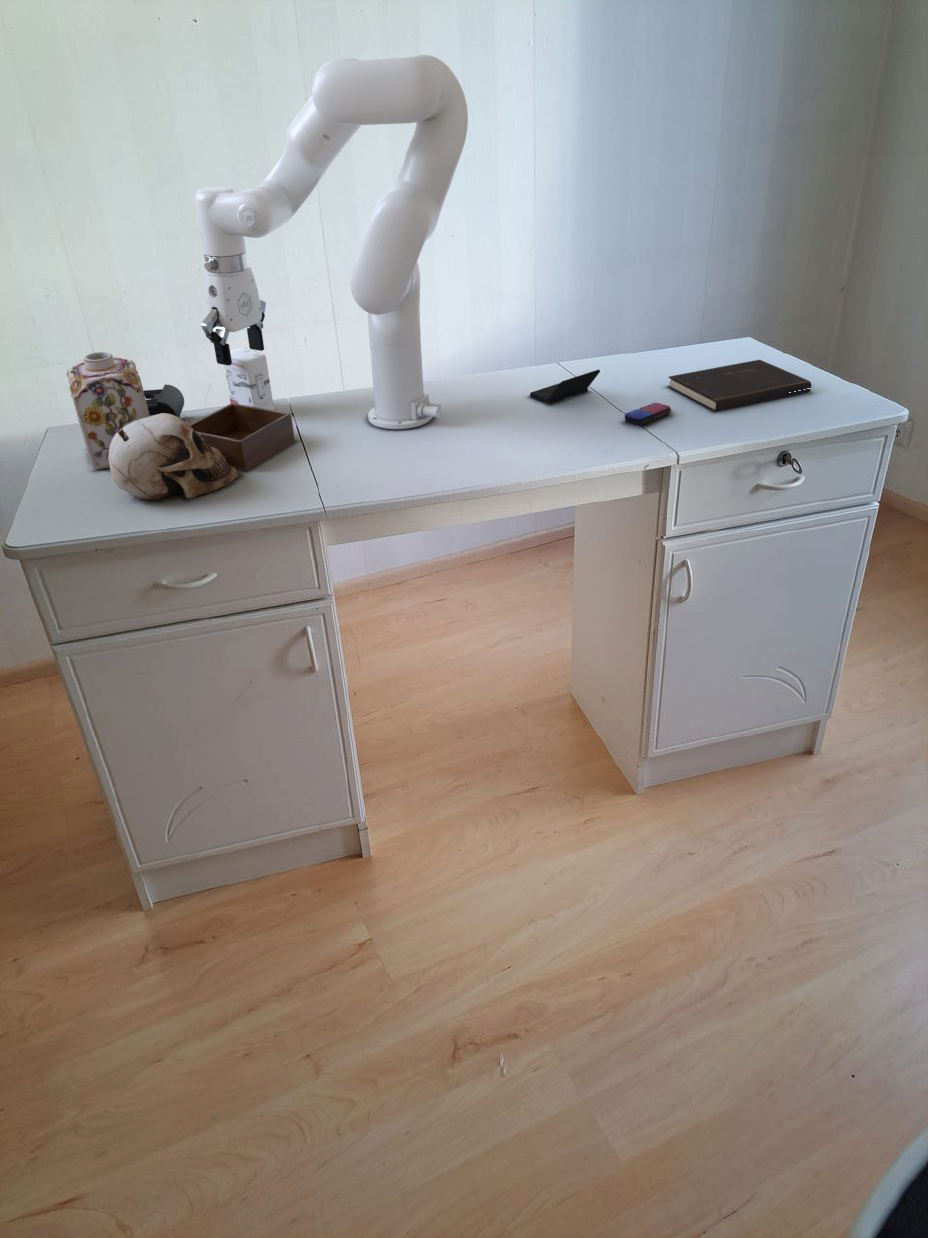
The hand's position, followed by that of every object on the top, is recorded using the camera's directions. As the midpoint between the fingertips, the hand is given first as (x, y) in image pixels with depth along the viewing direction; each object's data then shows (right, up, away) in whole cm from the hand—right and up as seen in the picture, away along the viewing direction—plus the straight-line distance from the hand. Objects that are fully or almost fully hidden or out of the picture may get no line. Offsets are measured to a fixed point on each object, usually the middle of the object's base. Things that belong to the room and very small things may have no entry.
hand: (241, 356), depth 167 cm
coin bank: (-5, -29, -21) cm, 36 cm away
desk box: (+2, -20, -9) cm, 22 cm away
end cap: (-15, -14, +1) cm, 20 cm away
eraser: (+78, -13, -2) cm, 79 cm away
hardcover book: (+99, -4, +9) cm, 99 cm away
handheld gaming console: (+63, -6, +9) cm, 64 cm away
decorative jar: (-19, -21, -9) cm, 30 cm away
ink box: (+1, -9, +6) cm, 11 cm away
